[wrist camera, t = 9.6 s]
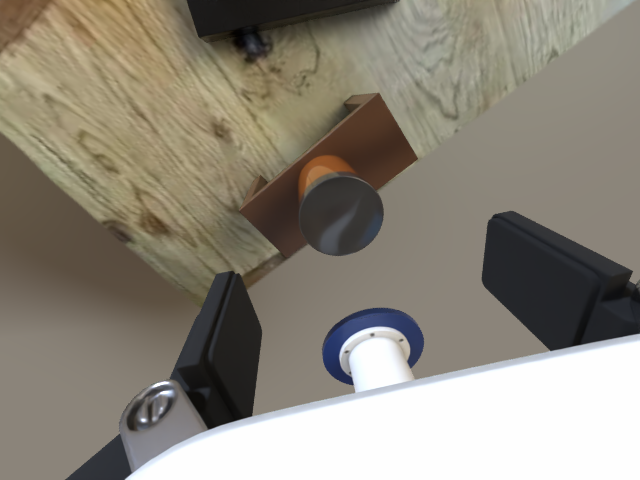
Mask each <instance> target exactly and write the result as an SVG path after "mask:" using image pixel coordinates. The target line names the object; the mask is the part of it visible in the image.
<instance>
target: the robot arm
mask: <svg viewBox="0 0 640 480" xmlns="http://www.w3.org/2000/svg"><path fill="white" fill-rule="evenodd" d="M632 272H633V271H632V270H630V269H628V268H626V267H624V266H622V265H620V264H618V263H615V262H614V261H611V260H610V259H608V258H606V257H604V256H602V255H600V254H598V253H596V252H594V251H592V250H590V249H588V248H586V247H584V246H582V245H580V244H578V243H576V242H574V241H572V240H570V239H568V238H566V237H564V236H562V235H560V234H558V233H556V232H554V231H552V230H550V229H548V228H546V227H544V226H542V225H540V224H538V223H536V222H534V221H532V220H530V219H528V218H526V217H524V216H522V215H520V214H518V213H516V212H514V211H508V212H503V213H498V214H495V215H493V217H492V219H490V220H489V222H488V226H487V234H486V243H485V253H484V262H483V271H482V282H483V285H484V286H485V288H486V289H487V290H488V291H489V292H490V293H491V294H493V295H494V296H495V297H496V298H497V299H498V300H499V301H500V302H501V303H502V304H503V305H504V306H505V307H506V308H507V309H508V310H509V311H510V312H511V313H512V314H513V315H514V316H515V317H516V318H517V319H519V320H520V321H521V322H522V323H523V324H524V325H525V326H526V327H527V328H528V329H529V330H530V331H531V332H532V333H533V334H534V335H535V336H536V337H537V338H538V339H539V340H540V341H541V342H542V343H543V344H544V345H545V346H546V347H547V348H548V349H549V350H550V352H545V353H540V354H535V355H530V356H525V357H521V358H516V359H512V360H506V361H501V362H497V363H492V364H487V365H483V366H478V367H473V368H469V369H464V370H459V371H454V372H450V373H445V374H440V375H435V376H431V377H426V378H421V379H417V380H415V378H414V376H413V374H412V372H411V369H410V367H409V365H408V363H407V360H408V358H409V355H410V346H409V343H408V341H407V339H406V337H405V336H404V335H403V334H402V333H401V332H399V331H398V330H396V329H393V328H389V327H372V328H367V329H364V330H361V331H359V332H357V333H355V334H354V335H352V336H351V337H350V338H349V339H348V340H347V341H346V342H345V343H344V344H343V346H342V348H341V350H340V354H339V359H340V364H341V367H342V369H343V371H344V372H345V373H346V374H347V375H349V376H350V377H352V379H353V383H354V388H355V392H356V393H353V394H348V395H343V396H339V397H334V398H330V399H325V400H320V401H316V402H311V403H307V404H303V405H299V406H294V407H290V408H286V409H282V410H277V411H274V412H269V413H265V414H260V415H256V416H252V413H253V404H254V396H255V388H256V380H257V372H258V363H259V355H260V347H261V339H262V329H261V326H260V323H259V320H258V318H257V315H256V313H255V310H254V308H253V305H252V303H251V300H250V298H249V295H248V293H247V290H246V288H245V285H244V283H243V280H242V278H241V275H240V274H239V273H237V274H235V273H234V271H228V272H224V273H219V274H216V276H215V278H214V281H213V283H212V285H211V288H210V290H209V292H208V295H207V297H206V299H205V302H204V304H203V307H202V309H201V311H200V314H199V315H198V316H197V317H196V319H195V321H194V324H193V326H192V328H191V330H190V333H189V335H188V337H187V340H186V342H185V344H184V347H183V349H182V351H181V353H180V356H179V358H178V360H177V363H176V365H175V368H174V370H173V372H172V374H171V377H170V379H166V380H161V381H158V382H156V383H153V384H151V385H150V386H148V387H147V388H145V389H143V390H142V391H141V392H140V393H139V394H137V395H136V396H135V397H134V398H133V400H132V401H131V402H130V403H129V404H128V405H127V407H126V409H125V410H124V412H123V413H122V416H121V419H120V422H119V431H120V434H119V435H118V436H116V437H115V438H114V439H113V440H112V441H111V442H109V443H108V444H107V445H106V446H105V447H103V448H102V449H101V450H100V451H99V452H98V453H96V454H95V455H94V456H93V457H92V458H90V459H89V460H88V461H87V462H86V463H85V464H83V465H82V466H81V467H80V468H79V469H77V470H76V471H75V472H74V473H73V474H71V475H70V476H69V477H68V478H67V479H66V480H640V280H639V281H638V282H637V284H636V285H635V284H633V283H632V282H630V281H629V279H630V277H631V275H632Z"/></svg>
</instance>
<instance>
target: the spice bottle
mask: <svg viewBox="0 0 640 480" xmlns="http://www.w3.org/2000/svg"><path fill="white" fill-rule="evenodd" d="M298 196H299V208H298V219H299V227H300V230H301V233H302V235H303V237H304V239H305V240H306V241H307V242H308V244H309V245H310V246H312V247H313V248H314V249H316V250H317V251H319V252H322V253H324V254H328V255H333V256H343V255H349V254H353V253H355V252H358V251H359V250H361V249H363V248H365V247H366V246H367V245H369V244H370V243H371V242H372V241H373V240H374V238H375V237H376V235H377V234H378V232H379V230H380V228H381V226H382V222H383V215H384V211H383V210H384V209H383V204H382V201H381V198H380V196H379V194H378V193H377V191H376V190H375V189H374V188H373V187H372V186H371V185H370V184H369V182H368V181H366V180H365V179H364V178H362V177H361V176H360V175H359V174H358V173H357V172H356V171H355V170H354V169H353V168H352V167H351V166H350V165H349V164H348V163H347V162H346V161H345V160H343V159H342V158H340V157H337V156H332V155H324V156H320V157H317V158H315V159H313V160H311V161H310V162H309V163H307V164H306V165H305V167H304V168H303V169H302V171H301V173H300V176H299V179H298Z"/></svg>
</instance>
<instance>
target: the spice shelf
mask: <svg viewBox="0 0 640 480" xmlns="http://www.w3.org/2000/svg"><path fill="white" fill-rule="evenodd" d="M344 105H345V107H346V108H347V110H348V111H349V113H350V114H349V115H348V116H347V117H346V118H344V119H343V120H342V121H341V122H340V123H339V124H337V125H336V126H335V127H334V128H333V129H331V130H330V131H329V132H328V133H327V134H326V135H324V136H323V137H322V138H321V139H320V140H318V141H317V142H316V143H315V144H314V145H313V146H311V147H310V148H309V149H308V150H307V151H306V152H304V153H303V154H302V155H301V156H300V157H298V158H297V159H296V160H295V161H294V162H293V163H291V164H290V165H289V166H288V167H287V168H285V169H284V170H283V171H282V172H281V173H280V174H278V175H277V176H276V177H275V178H274V179H272V180H271V181H270V182H269V183H268V182H267V181H266V180H265V179H264V178H263V177H262V176H261V175H260V176H259V177H257V178H256V179H255V180H254V181H253V183H252V185H251V187H250V189H249V191H248V193H247V195H246V197H245V199H244V202H243V204H242V206H241V207H240V209H239V212H240V213H241V214H242V215H243V216H244V217H245V218H246V219H247V220H248V221H249V222H250V223H251V224H252V225H253V226H254V227H255V228H256V229H257V230H259V231H260V232H261V233H262V234H263V235H264V236H265V237H266V238H267V239H268V240H269V241H270V242H271V243H272V244H273V245H274V246H275V247H276V248H277V249H278V250H279V251H280V252H281V253H282V254H283V255H284V256H285V257H286V258H288V257H289V256H290V255H292V254H293V253H294V252H296V251H297V250H298V249H300V248H301V247H302V246H303V245H305V244H306V243H307V241H306V240H305V239H304V237H303V235H302V233H301V230H300V227H299V219H298V208H299V196H298V179H299V176H300V173H301V171H302V169H303V168H304V167H305V165H306V164H307V163H309V162H310V161H311V160H313V159H315V158H317V157H320V156H324V155H332V156H337V157H340V158H342V159H343V160H345V161H346V162H347V163H348V164H349V165H350V166H351V167H352V168H353V169H354V170H355V171H356V172H357V173H358V174H359V175H360V176H361V177H362V178H364V179H365V180H366V181H368V182H369V184H370V185H371V186H372V187H373V188H374V189H375V190H378V189H379V188H380V187H382V186H383V185H384V184H386V183H387V182H388V181H390V180H391V179H392V178H394V177H395V176H396V175H398V174H399V173H400V172H402V171H403V170H404V169H406V168H407V167H408V166H410V165H411V164H412V163H413V162H415V161H416V160H417V159H418V158H417V156H416V154H415V153H414V151H413V149H412V148H411V146H410V144H409V143H408V141H407V139H406V137H405V136H404V134H403V132H402V131H401V129H400V127H399V126H398V124H397V122H396V121H395V119H394V117H393V115H392V114H391V112H390V110H389V109H388V107H387V105H386V104H385V102H384V100H383V99H382V97H381V95H380V93H372V94H363V95H354V96H351V97H350V98H349V99H348V100H347V101H345V102H344Z"/></svg>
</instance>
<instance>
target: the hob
mask: <svg viewBox="0 0 640 480" xmlns="http://www.w3.org/2000/svg"><path fill="white" fill-rule="evenodd" d="M397 1H399V0H187V3H188V6H189V9H190V12H191V15H192V18H193V21H194V25H195V28H196V31H197V34H198V37H199V38H201V39H202V40H204V41H205V42H206V43H209V42H214V41H218V40H223V39H227V38H232V37H237V36H241V35H246V34H250V33H255V32H260V31H264V30H269V29H273V28H278V27H283V26H287V25H292V24H296V23H301V22H306V21H310V20H315V19H319V18H324V17H329V16H333V15H338V14H342V13H347V12H352V11H356V10H361V9H365V8H370V7H374V6H379V5H384V4H388V3H393V2H397Z"/></svg>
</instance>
